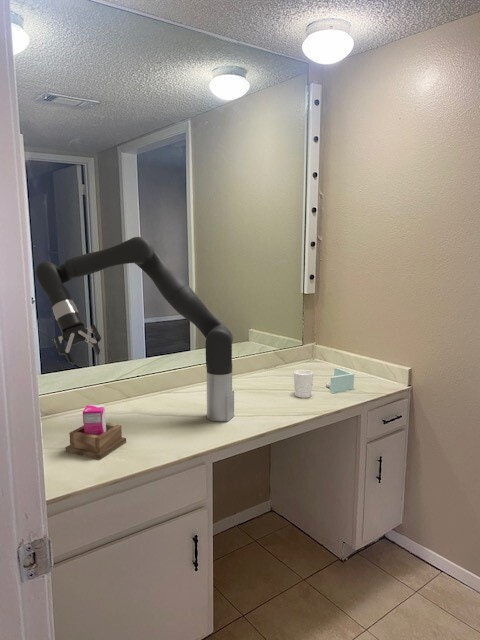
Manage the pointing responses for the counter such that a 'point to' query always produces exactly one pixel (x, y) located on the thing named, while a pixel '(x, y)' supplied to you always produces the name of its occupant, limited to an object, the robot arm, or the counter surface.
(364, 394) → the counter surface
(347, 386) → the right angle wall
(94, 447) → the post socket
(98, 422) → the supplement box
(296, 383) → the white cup
